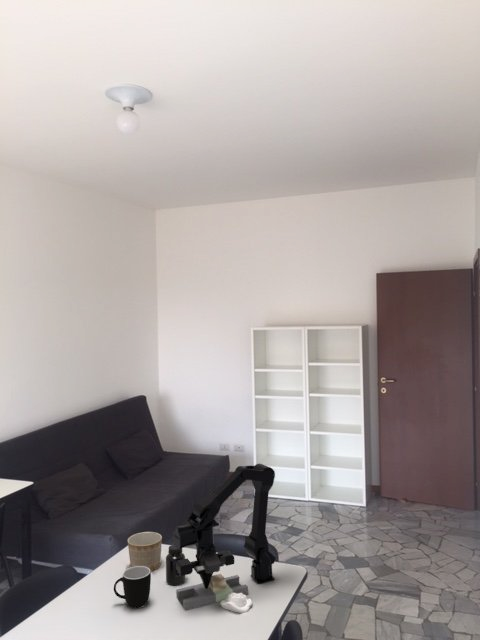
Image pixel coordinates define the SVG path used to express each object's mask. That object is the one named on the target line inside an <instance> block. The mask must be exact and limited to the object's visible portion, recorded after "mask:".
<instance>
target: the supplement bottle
mask: <svg viewBox="0 0 480 640" xmlns="http://www.w3.org/2000/svg"><path fill="white" fill-rule="evenodd" d="M167 551H168V553H167V555H166V557H165V578H166V579H165V580H166V583H167V585H170V586H179V585H182V584H183V583H185V582H186V575H184V576H181V575H180V574H179V572H178V571H177V569H176V563H177V561H178V560H182V559H186V555H185V554H184V553H183V548H180V549H177V548H176V547H175V545H174V544H171V545H169V546H168V550H167Z"/></svg>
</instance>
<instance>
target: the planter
mask: <svg viewBox="0 0 480 640" xmlns="http://www.w3.org/2000/svg"><path fill="white" fill-rule="evenodd" d="M162 540H163V536H162V535H161V534H160V533H158V532H154V531H143V532H138V533H135V534H132V535H131V536H129V537H128V538H127V548H128V555H129V565H130V568H131V567H135V566H145V567H148V568H149V569H150V571H151V572H152V571H155V570H157V569H158V568H159V567H160V566H161V560H162V559H161V558H162V557H161V556H162Z"/></svg>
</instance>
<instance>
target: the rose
mask: <svg viewBox="0 0 480 640" xmlns="http://www.w3.org/2000/svg"><path fill="white" fill-rule="evenodd" d="M252 604H253V600H252V599H251V598H247V595H243V593H239V594H236V593H230V594H229V595H228V598H226V599H225V600H222V601H220V606H221V607H222V608H223V609H226V610H228V611H232V612H235V613H240V614H242V613H247V612H248V611H249V610H250V607H251V606H252Z"/></svg>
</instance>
